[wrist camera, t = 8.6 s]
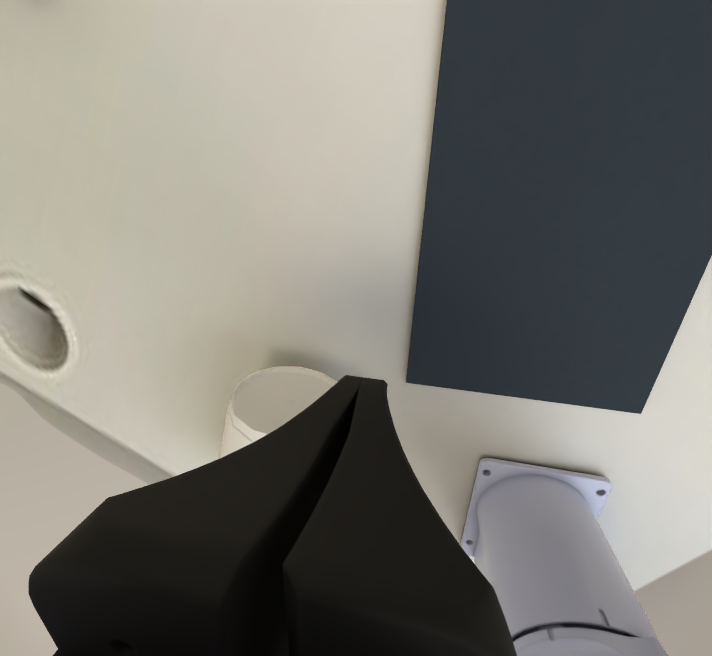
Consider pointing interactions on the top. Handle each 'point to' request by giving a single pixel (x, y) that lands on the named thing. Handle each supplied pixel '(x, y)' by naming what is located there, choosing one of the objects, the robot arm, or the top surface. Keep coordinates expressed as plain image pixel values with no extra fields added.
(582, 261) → the rubber mat
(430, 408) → the top surface
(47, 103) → the top surface
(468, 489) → the top surface
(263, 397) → the foam cup
